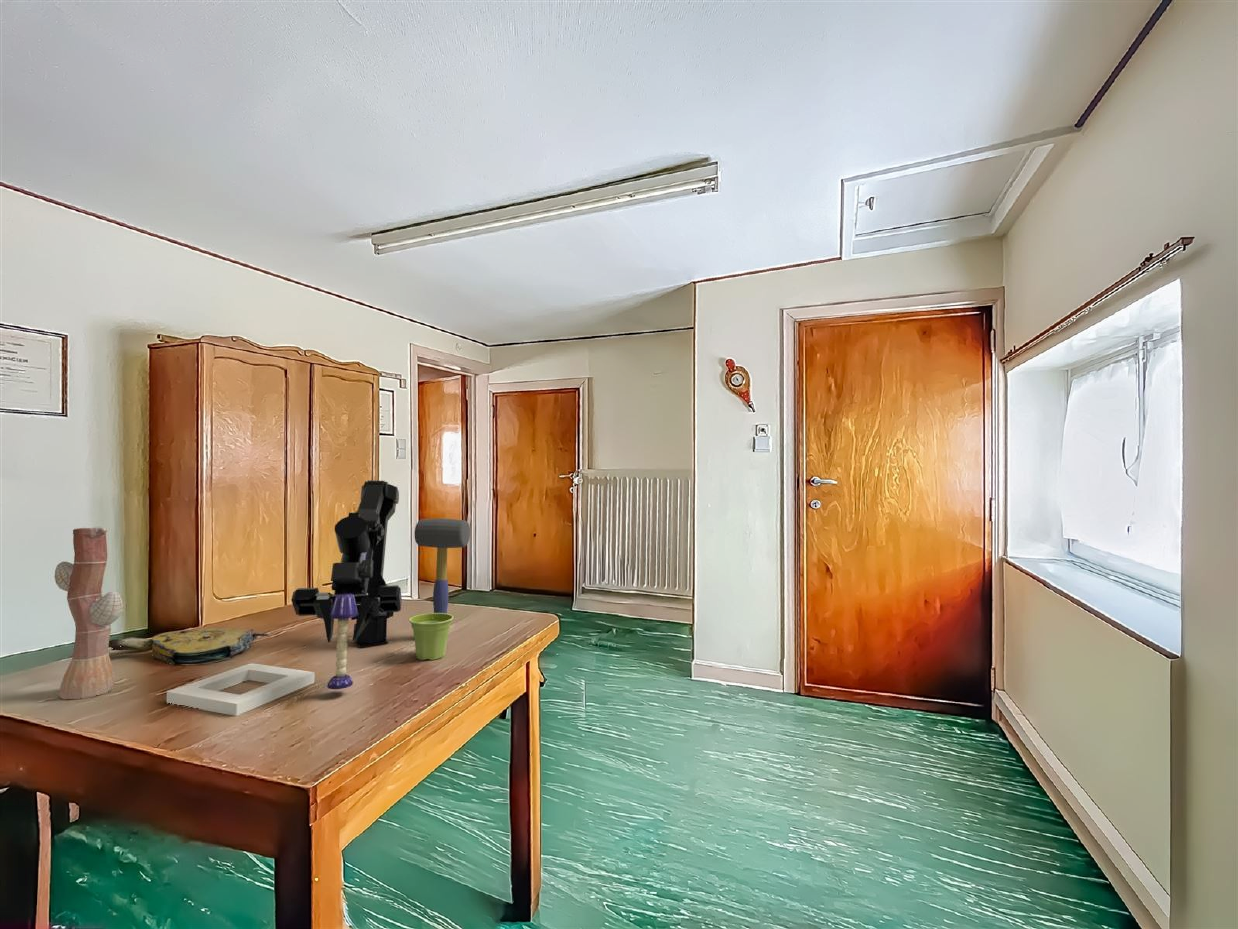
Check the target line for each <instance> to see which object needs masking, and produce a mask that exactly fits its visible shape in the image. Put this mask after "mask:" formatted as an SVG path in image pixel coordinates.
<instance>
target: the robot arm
mask: <svg viewBox="0 0 1238 929" xmlns="http://www.w3.org/2000/svg"><path fill="white" fill-rule="evenodd" d="M360 492H361V493H360V502H359V505H358V508H357V510H356V511H355V512H348V516H346V517H344V518H341V519H340V520H339V521H337V523H335V525H334V533H335V538H336V542H337V547H338V551H339V552H340V554H341V559H340V562H334V563H332V566H331V567H332V569H331V575H330V576H331V577H330V581H331V591H334V592H333V593H330V592H320V591H319V587H300V588H297V589H295V590H294V591H293V593H292V596H291V599H290V600H291V603H292V607H293V610H294V613H295V614H296V616H299V617H304V616H305V617H306V616H307V617H308V616H316V618H318V619H323V622H324V628H325V634H326V639H327V643H331V642H332V638H333V631H334V622H335V619H333V618H331V617H330V613H331V609H332V606H333V603H334V600H335V597H336V595H338V594H343V593H350V594H353V595H354V598H355V602H356V607H357V611H358V615H357V616H355V617H353V618H350V619H351V621H354V620H356V623H354V624H353V635H352V641H353V643H355V644H356V645H357V646H358V647H359V648H365V647H373V646H380V645H386V644H389V640H388V639H387V631H388V630H387V628H388V624H387V623H388V619H390V618H391V617H394V613H399V612H401V610H402V601H403V599H402V589H401V587H400V586H399V585H398V584H397V585H396V584H395V585H393V584H392V585H388V584H387V582H386V581H385V579H384V567H385V558H386V557H385V555H386V548H387V547H386V545H387V537H388V536H387V533H388V522H389V520H390V519H391V518H392V516H394V514H395V512H396V506H397V505H399V500H400V491H399V489H398V486H395V485H393V484H390V483H388V481H386V480H365V481H364V484H363V485H361V491H360Z"/></svg>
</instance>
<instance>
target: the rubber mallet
mask: <svg viewBox="0 0 1238 929" xmlns="http://www.w3.org/2000/svg"><path fill="white" fill-rule="evenodd" d="M470 537H471V527H470V524H469V522H468V521H467V520H463V519H455V518H453V519H452V518H421V519H420V520H418V521H417V523H416V525H415V527H414V540H415V543H416V544H417V546H419V547H427V548H434V549H435V548H436V569H435V570H436V571H435V572H436V573H435V581H434V586H433V592H432V594H433V595H432V603H433V613H446V614H448V605H449V597H450V596H449V593H450V592H449V591H450V590H449V582H448V578H447V576H448V574H447V573H448V549H456V548H457V549H458V548H459V549H460V548H466V547H467V545H468V543H469V542H470Z"/></svg>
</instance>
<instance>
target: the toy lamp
mask: <svg viewBox="0 0 1238 929" xmlns="http://www.w3.org/2000/svg"><path fill="white" fill-rule="evenodd" d="M357 615H358V611H357V607H356V602H355V598H354V595H353V594H350V593H343V594H338V595H336V597H335V600H334V603H333V606H332V609H331V613H330V617H331V618H333V619H334V620H337V624H338V626H337V629H336V630H337V635H336V641H337V642H336V650H337V651H336V653H335V654H336V655H335V657H336V661H335V666H336V668H335V675H334V676H332V677H331V678H330V679H329V681H328V682H327V685H326V686H327V687H326V688H327V689H329V690H342V689H343V690H344V689H346V688H350V687H352V686H353V684H354V682H353V679H352V677H351V676H350V675H349V674H347V667H346V666H347V662H348V661H347V657H348V651H347V649H348V631H349V626H348V624H349V620H350V619H351V618H353V617H355V616H357Z"/></svg>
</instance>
